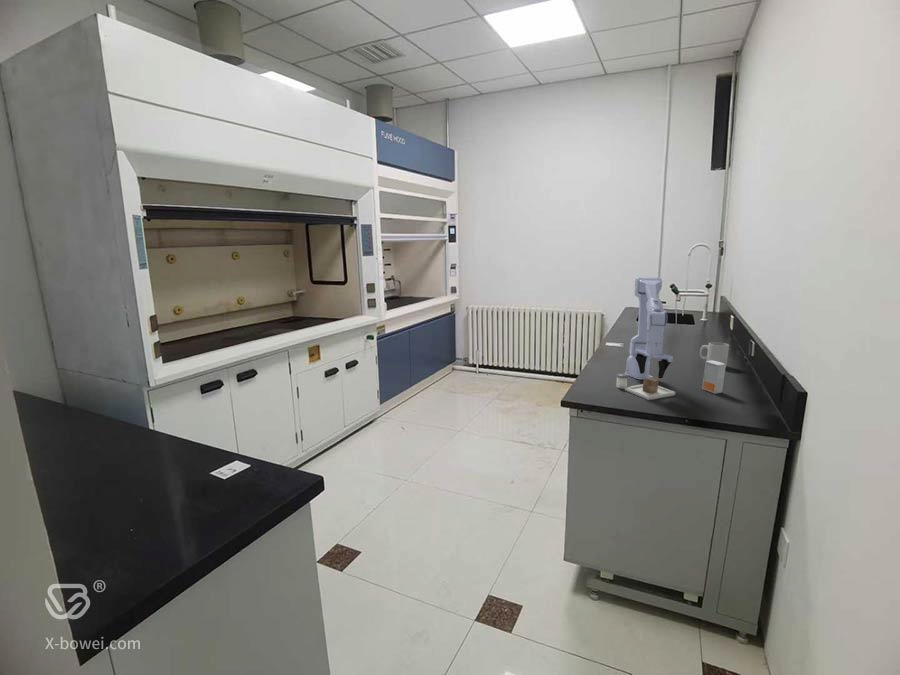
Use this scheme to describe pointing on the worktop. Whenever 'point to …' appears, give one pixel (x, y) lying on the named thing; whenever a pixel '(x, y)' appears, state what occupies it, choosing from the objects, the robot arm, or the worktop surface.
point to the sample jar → (621, 381)
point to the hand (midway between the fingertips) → (651, 375)
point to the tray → (648, 396)
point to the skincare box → (713, 376)
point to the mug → (716, 352)
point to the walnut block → (650, 385)
